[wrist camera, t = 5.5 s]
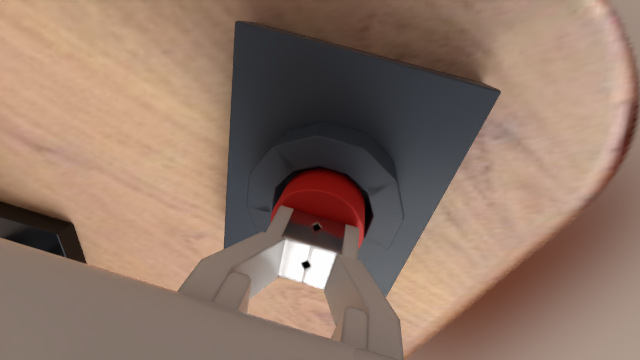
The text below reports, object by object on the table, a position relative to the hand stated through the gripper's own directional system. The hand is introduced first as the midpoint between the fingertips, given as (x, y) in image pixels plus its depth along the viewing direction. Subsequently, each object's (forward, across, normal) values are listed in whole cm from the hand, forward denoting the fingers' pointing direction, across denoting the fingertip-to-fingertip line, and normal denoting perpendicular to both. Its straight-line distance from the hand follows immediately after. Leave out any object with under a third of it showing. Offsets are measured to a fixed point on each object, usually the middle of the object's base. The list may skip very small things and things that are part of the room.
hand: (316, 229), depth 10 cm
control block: (+5, 0, 0) cm, 5 cm away
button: (+2, 0, 0) cm, 2 cm away
